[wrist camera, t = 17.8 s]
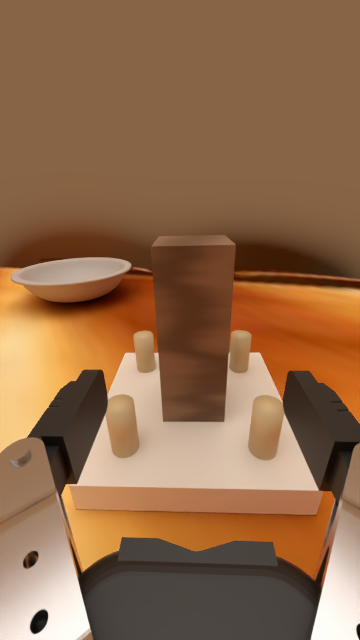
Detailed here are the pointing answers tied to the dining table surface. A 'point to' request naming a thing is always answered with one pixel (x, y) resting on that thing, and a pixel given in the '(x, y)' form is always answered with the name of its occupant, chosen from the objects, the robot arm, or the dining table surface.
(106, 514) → the dining table surface
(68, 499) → the dining table surface
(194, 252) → the walnut post
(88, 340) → the dining table surface
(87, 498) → the peg stand
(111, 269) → the soup bowl
